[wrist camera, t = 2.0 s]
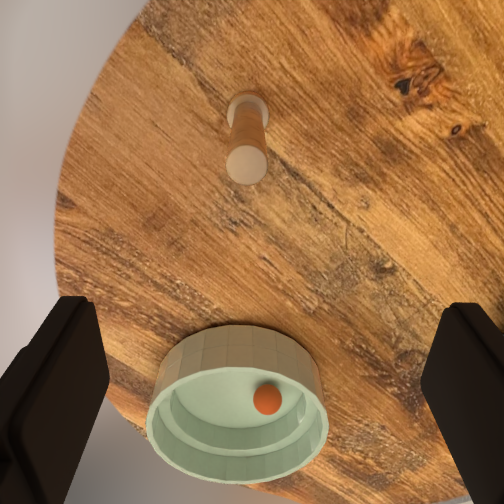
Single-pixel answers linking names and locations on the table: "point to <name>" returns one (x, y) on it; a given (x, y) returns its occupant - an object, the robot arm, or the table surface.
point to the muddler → (247, 138)
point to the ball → (267, 399)
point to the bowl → (236, 406)
